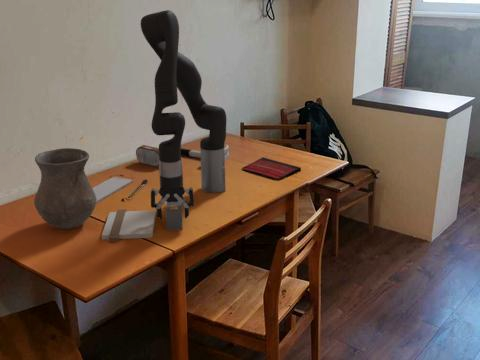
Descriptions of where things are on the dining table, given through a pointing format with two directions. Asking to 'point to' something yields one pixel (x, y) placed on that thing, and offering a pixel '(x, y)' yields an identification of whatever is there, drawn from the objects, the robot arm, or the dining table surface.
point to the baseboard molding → (110, 187)
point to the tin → (148, 155)
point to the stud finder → (174, 215)
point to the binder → (271, 168)
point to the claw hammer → (198, 154)
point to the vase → (64, 188)
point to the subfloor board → (129, 225)
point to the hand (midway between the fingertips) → (173, 217)
